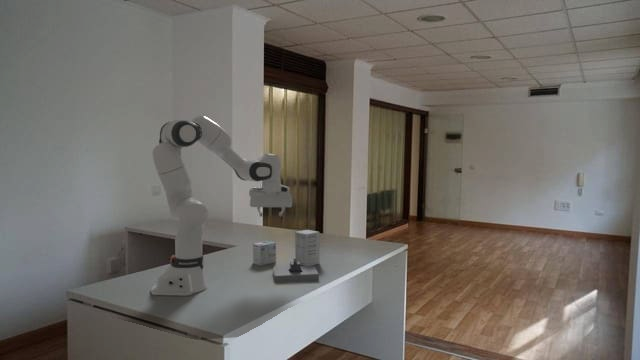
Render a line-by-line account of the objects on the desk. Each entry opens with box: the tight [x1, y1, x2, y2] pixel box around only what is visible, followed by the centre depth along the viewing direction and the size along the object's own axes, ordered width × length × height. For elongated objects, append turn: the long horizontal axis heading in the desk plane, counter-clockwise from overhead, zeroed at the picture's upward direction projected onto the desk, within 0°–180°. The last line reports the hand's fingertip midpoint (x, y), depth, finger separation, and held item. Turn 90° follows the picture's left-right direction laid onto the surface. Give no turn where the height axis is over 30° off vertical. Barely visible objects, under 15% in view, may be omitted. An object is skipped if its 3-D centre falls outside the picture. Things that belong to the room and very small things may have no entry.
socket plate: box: [272, 265, 320, 283], centre depth 209 cm, size 20×14×3 cm
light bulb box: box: [252, 240, 277, 267], centre depth 232 cm, size 11×7×11 cm, turn 134°
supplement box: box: [294, 229, 321, 266], centre depth 231 cm, size 10×9×17 cm
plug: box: [289, 258, 302, 273], centre depth 208 cm, size 4×4×8 cm
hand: (270, 216), depth 213 cm, fingers open, 8 cm apart
